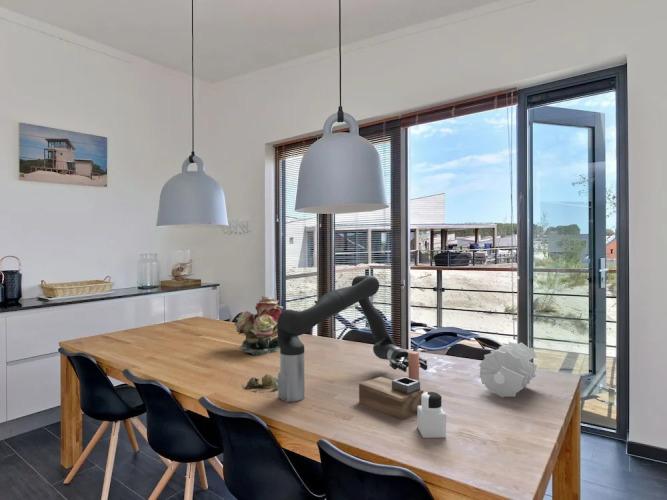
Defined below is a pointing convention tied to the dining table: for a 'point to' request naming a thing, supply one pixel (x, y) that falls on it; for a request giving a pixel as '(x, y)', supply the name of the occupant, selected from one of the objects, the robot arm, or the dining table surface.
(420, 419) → the medicine bottle
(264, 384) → the mossy rock cluster
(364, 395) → the brown wooden block
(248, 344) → the rose bouquet
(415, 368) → the key peg
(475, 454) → the dining table surface
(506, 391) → the spiral staircase
